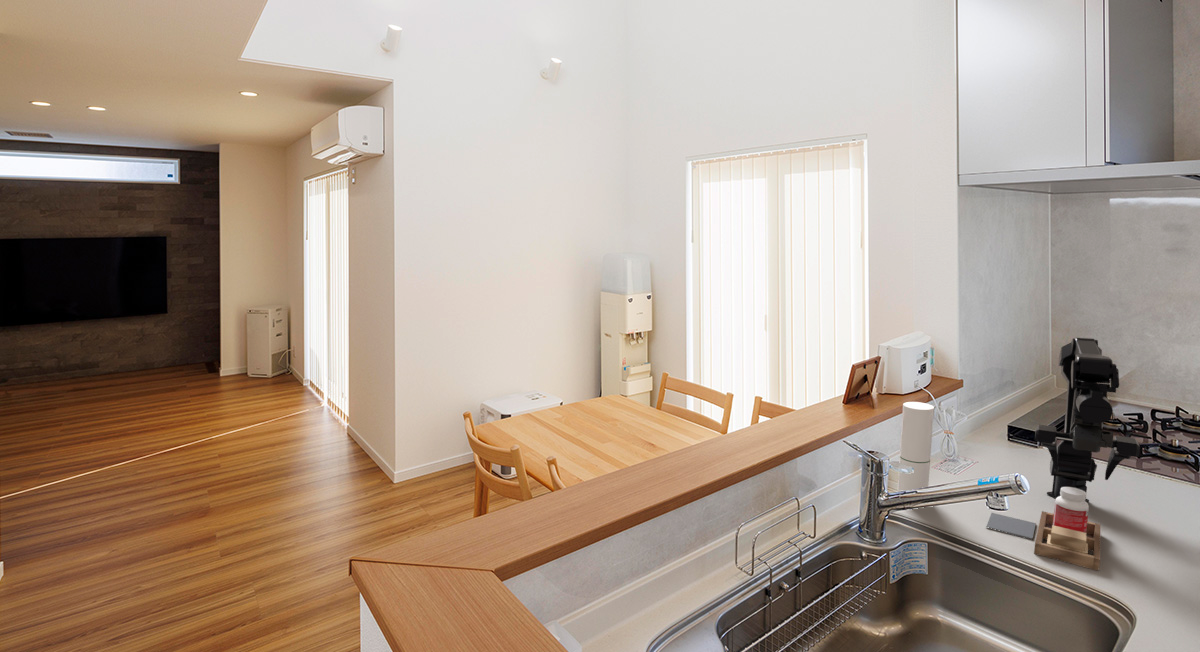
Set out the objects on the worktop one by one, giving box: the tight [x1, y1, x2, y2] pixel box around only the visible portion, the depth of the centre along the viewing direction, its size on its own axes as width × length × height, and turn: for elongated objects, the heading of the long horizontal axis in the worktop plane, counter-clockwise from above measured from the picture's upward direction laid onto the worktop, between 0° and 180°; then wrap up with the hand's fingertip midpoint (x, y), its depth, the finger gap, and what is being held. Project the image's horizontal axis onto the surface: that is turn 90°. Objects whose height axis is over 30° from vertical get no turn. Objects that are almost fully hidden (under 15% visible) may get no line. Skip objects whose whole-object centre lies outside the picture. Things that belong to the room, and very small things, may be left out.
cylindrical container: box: [897, 401, 935, 492], centre depth 160 cm, size 7×7×25 cm
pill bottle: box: [1053, 487, 1090, 534], centre depth 140 cm, size 6×6×11 cm
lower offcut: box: [1046, 534, 1089, 555], centre depth 133 cm, size 7×5×2 cm
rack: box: [1033, 510, 1102, 572], centre depth 137 cm, size 11×19×2 cm, turn 141°
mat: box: [985, 512, 1037, 540], centre depth 145 cm, size 9×9×1 cm
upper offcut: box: [1050, 525, 1087, 551], centre depth 133 cm, size 6×4×2 cm, turn 52°
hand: (1080, 475), depth 142 cm, fingers open, 9 cm apart
